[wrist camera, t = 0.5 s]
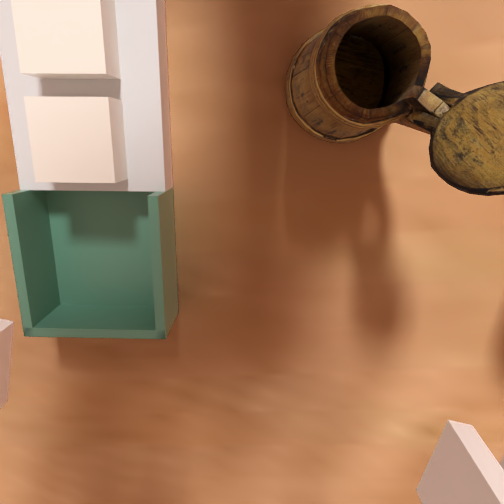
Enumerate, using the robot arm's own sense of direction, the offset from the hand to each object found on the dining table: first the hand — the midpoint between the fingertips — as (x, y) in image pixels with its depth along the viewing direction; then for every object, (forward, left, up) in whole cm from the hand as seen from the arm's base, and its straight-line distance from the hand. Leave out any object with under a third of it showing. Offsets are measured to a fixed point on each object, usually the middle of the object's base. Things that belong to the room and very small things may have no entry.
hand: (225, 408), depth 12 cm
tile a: (-15, -13, -23) cm, 30 cm away
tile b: (-7, -13, -23) cm, 27 cm away
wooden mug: (-10, +9, -26) cm, 30 cm away
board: (-11, -13, -26) cm, 31 cm away
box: (+3, -13, -26) cm, 29 cm away
